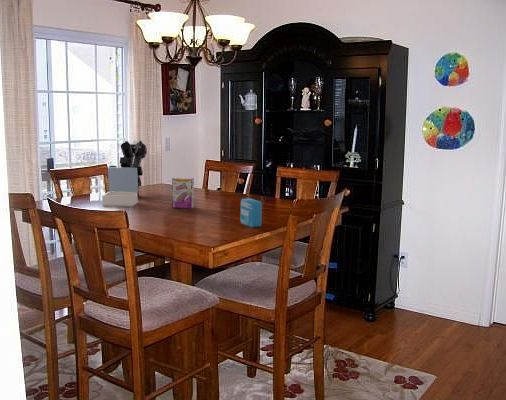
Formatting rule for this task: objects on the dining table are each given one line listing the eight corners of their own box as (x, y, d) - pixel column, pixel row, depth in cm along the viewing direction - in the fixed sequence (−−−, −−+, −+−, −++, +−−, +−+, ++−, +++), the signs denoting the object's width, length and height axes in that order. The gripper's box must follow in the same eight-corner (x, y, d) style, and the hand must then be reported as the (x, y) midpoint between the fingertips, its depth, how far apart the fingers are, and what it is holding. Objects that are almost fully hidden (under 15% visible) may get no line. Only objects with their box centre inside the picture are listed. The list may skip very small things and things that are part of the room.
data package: (240, 223, 252) (240, 198, 250) (248, 222, 255) (248, 197, 253) (253, 228, 242) (253, 202, 240) (261, 227, 244) (262, 201, 243)
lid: (109, 191, 301) (109, 191, 302) (137, 192, 301) (138, 191, 302) (107, 167, 297) (108, 167, 298) (136, 168, 297) (137, 167, 298)
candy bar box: (171, 208, 287) (171, 178, 284) (173, 206, 292) (173, 177, 289) (191, 209, 286) (192, 178, 283) (193, 207, 291) (193, 177, 288)
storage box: (109, 201, 302) (109, 191, 301) (137, 202, 302) (137, 192, 301) (102, 206, 288) (102, 195, 287) (131, 206, 288) (131, 195, 287)
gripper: (109, 151, 303) (103, 172, 294) (141, 152, 303) (137, 173, 294) (113, 164, 312) (108, 184, 303) (144, 164, 312) (140, 185, 303)
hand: (123, 182), depth 300 cm, fingers closed, pressing on lid
